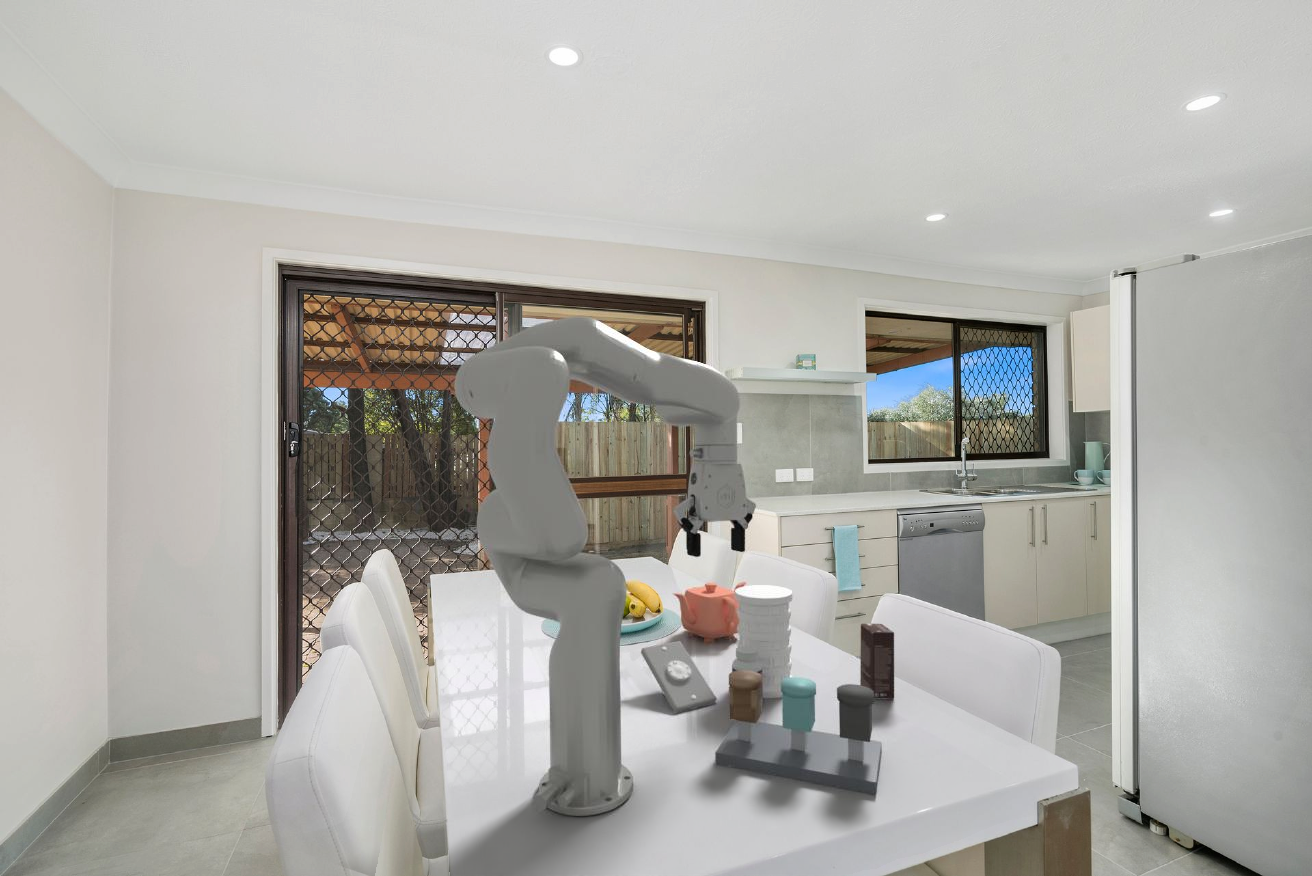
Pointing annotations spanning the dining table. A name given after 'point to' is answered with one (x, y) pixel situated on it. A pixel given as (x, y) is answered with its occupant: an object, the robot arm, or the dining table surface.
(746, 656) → the pill bottle
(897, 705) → the dining table surface
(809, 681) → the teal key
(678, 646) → the light switch
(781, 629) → the decorative container
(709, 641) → the teapot
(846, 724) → the dark grey round-topped block
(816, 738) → the panel
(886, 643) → the box
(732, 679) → the walnut key
